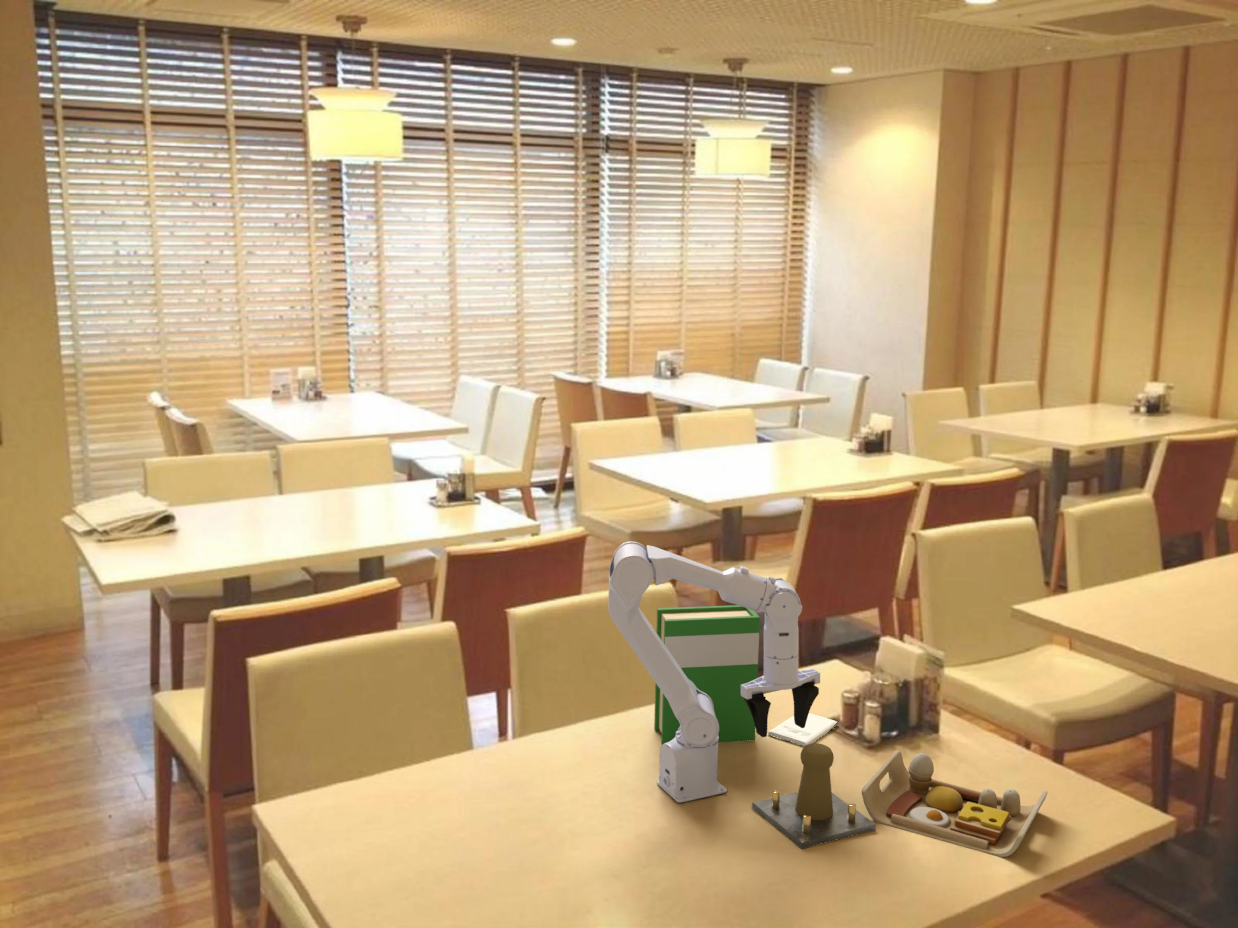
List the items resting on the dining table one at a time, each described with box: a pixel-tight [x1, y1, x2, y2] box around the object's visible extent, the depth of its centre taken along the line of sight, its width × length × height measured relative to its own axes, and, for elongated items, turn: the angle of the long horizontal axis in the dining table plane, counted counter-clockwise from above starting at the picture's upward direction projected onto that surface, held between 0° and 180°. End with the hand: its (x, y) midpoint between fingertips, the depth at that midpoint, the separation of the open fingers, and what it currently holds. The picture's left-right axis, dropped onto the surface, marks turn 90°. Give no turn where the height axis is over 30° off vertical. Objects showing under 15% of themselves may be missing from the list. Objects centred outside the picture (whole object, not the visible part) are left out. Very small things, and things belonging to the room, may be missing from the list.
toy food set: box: [861, 749, 1049, 858], centre depth 181 cm, size 25×18×8 cm
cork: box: [795, 742, 835, 820], centre depth 179 cm, size 6×6×11 cm
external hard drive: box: [767, 712, 838, 747], centre depth 213 cm, size 2×8×12 cm
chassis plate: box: [752, 790, 877, 850], centre depth 179 cm, size 14×14×4 cm
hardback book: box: [653, 604, 761, 746], centre depth 209 cm, size 18×7×24 cm, turn 100°
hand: (780, 730), depth 188 cm, fingers open, 7 cm apart
